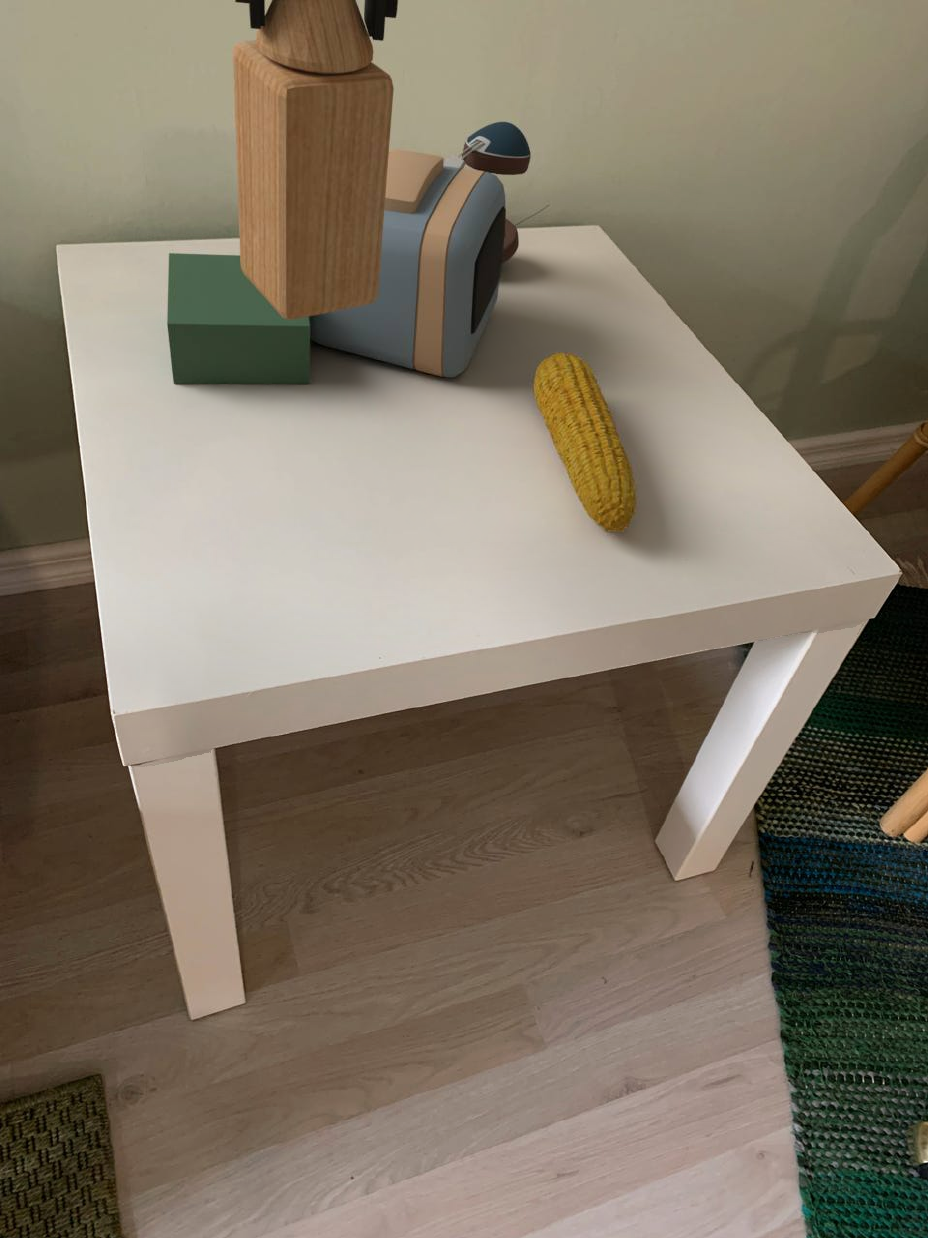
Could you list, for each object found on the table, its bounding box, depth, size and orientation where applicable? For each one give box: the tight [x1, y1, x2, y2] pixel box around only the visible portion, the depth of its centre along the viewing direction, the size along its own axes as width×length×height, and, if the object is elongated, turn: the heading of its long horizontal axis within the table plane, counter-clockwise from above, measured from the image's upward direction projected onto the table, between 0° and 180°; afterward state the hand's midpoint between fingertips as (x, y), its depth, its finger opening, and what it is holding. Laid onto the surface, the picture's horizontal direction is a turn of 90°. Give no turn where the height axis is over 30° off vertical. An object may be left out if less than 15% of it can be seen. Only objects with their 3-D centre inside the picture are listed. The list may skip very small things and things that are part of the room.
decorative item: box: [232, 0, 395, 320], centre depth 52 cm, size 7×7×20 cm
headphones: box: [443, 121, 550, 265], centre depth 101 cm, size 6×15×22 cm
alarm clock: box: [309, 148, 507, 378], centre depth 90 cm, size 16×16×16 cm
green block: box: [166, 252, 311, 385], centre depth 88 cm, size 12×12×6 cm
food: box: [532, 351, 637, 533], centre depth 82 cm, size 21×6×6 cm, turn 13°
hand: (315, 21), depth 49 cm, fingers closed on decorative item, 5 cm apart
